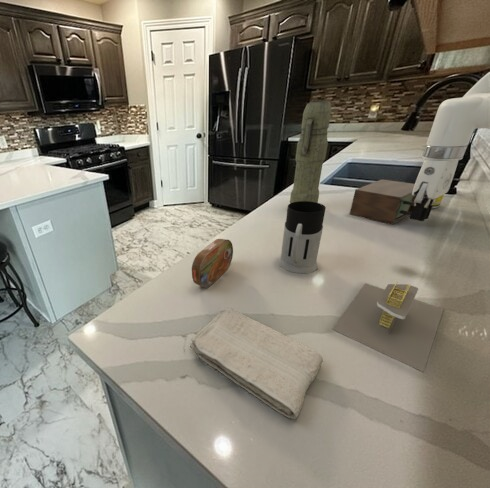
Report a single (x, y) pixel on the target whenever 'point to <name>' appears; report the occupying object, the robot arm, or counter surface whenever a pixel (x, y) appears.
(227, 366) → the washcloth
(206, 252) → the tin
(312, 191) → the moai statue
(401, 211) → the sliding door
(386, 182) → the cabinet
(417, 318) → the platform
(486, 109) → the robot arm
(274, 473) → the counter surface
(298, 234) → the glass holder
